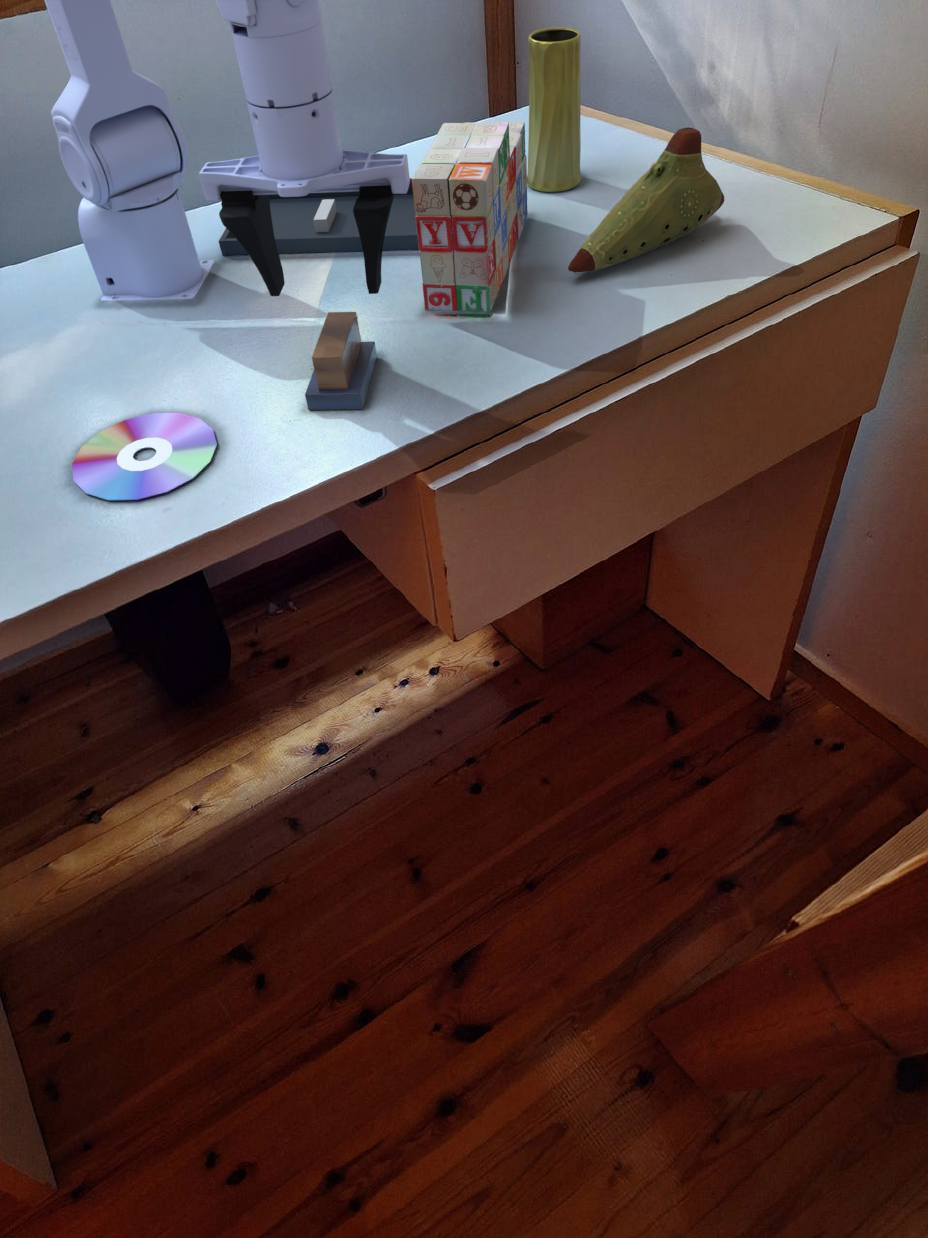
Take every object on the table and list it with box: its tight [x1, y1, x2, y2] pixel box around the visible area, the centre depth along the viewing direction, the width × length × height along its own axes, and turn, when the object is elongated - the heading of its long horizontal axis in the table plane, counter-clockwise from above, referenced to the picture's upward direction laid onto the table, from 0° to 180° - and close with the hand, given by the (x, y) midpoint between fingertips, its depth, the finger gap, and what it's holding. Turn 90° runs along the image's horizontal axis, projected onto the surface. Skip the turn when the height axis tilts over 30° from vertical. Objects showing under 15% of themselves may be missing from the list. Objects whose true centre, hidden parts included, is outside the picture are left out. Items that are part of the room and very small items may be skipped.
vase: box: [527, 26, 583, 193], centre depth 96 cm, size 6×6×14 cm
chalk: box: [313, 199, 337, 233], centre depth 96 cm, size 1×5×1 cm, turn 175°
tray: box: [218, 177, 419, 257], centre depth 96 cm, size 21×14×2 cm
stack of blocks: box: [411, 121, 528, 319], centre depth 84 cm, size 21×6×12 cm, turn 168°
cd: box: [71, 412, 218, 501], centre depth 70 cm, size 11×11×1 cm
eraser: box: [304, 311, 378, 411], centre depth 74 cm, size 8×4×4 cm, turn 175°
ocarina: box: [567, 126, 725, 274], centre depth 84 cm, size 20×5×10 cm, turn 126°
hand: (326, 288), depth 69 cm, fingers open, 7 cm apart
